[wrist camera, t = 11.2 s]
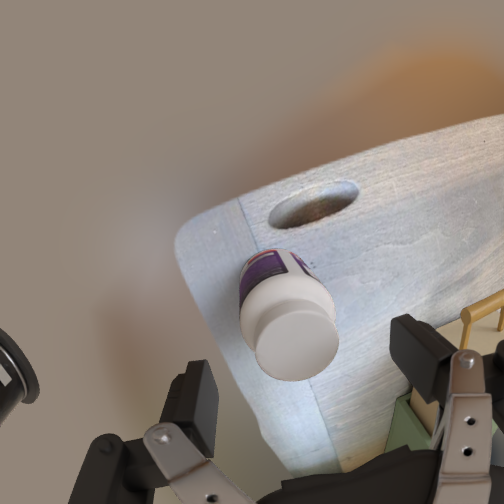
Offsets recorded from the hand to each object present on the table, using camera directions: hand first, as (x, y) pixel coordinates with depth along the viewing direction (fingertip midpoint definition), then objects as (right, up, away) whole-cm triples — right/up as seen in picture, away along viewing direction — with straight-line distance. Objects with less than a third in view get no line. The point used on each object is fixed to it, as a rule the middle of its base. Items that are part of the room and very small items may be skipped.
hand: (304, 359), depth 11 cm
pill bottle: (0, +2, +11) cm, 11 cm away
